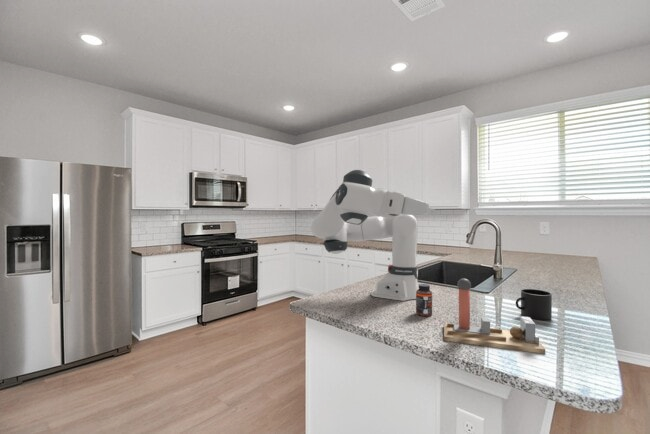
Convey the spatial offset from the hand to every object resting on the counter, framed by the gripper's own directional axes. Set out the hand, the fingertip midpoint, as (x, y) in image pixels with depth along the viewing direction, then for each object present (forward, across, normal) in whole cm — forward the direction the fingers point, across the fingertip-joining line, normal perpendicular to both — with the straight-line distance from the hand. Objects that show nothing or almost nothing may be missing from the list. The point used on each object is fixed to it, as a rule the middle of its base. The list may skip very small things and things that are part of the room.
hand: (427, 212), depth 99 cm
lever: (+19, +6, -35) cm, 40 cm away
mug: (+53, -7, -30) cm, 61 cm away
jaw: (+33, +14, -32) cm, 48 cm away
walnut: (+30, +12, -33) cm, 46 cm away
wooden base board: (+24, +8, -35) cm, 43 cm away
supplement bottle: (+15, -16, -37) cm, 44 cm away
